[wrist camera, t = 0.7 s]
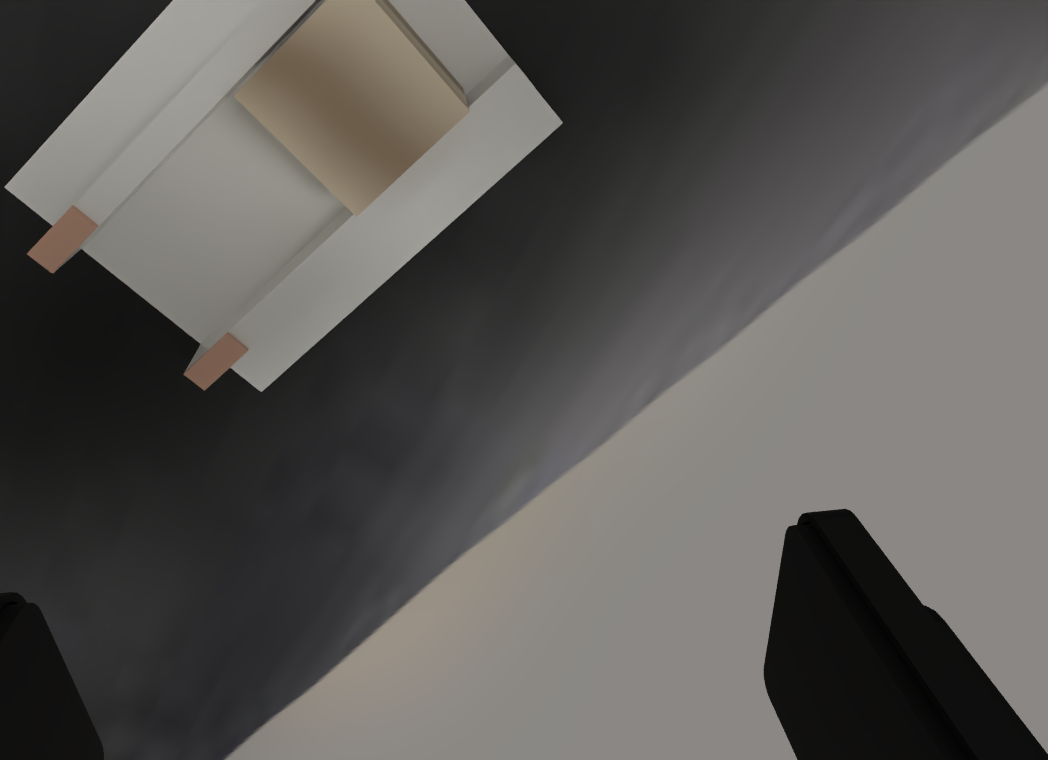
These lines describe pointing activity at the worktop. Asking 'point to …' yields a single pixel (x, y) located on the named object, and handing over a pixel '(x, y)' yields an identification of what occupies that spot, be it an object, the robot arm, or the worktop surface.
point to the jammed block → (355, 98)
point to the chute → (258, 181)
